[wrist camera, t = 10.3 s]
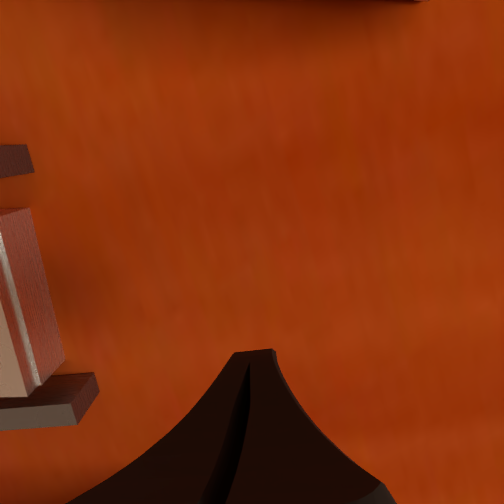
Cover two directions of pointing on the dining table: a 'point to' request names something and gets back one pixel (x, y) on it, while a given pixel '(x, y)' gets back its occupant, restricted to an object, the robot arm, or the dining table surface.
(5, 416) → the dock
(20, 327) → the block
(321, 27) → the dining table surface
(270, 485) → the robot arm
